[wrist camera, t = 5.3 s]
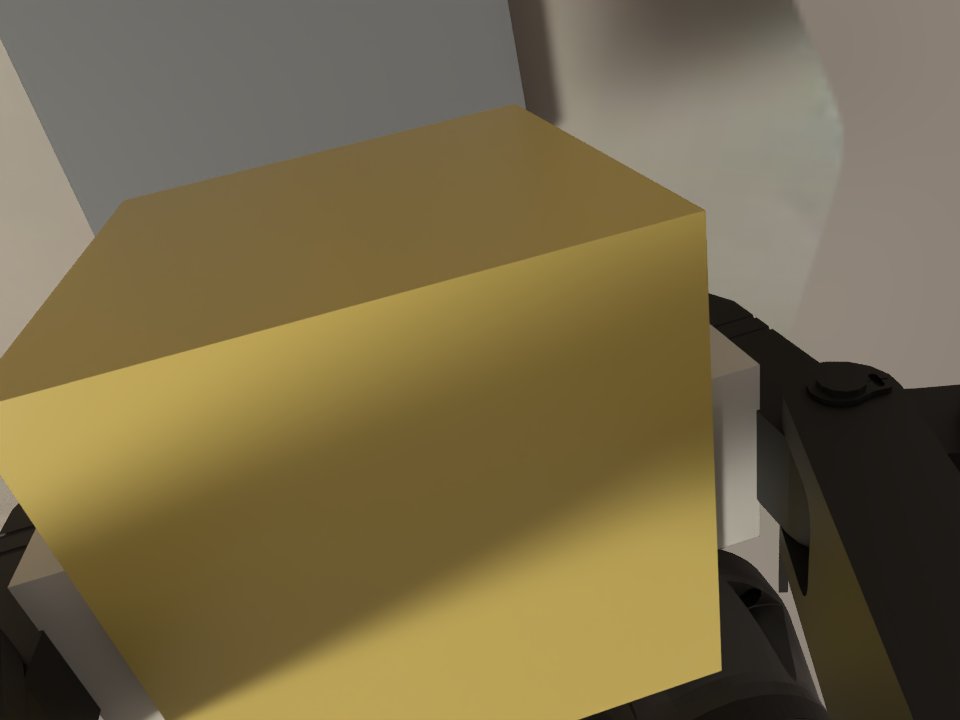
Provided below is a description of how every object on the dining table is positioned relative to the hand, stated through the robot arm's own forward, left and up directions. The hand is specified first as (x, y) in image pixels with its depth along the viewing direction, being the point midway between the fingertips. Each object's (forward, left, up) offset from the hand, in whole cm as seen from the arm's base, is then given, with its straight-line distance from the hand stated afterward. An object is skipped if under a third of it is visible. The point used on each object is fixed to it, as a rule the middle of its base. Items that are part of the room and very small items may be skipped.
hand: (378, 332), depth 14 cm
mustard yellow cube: (0, 0, 0) cm, 0 cm away
